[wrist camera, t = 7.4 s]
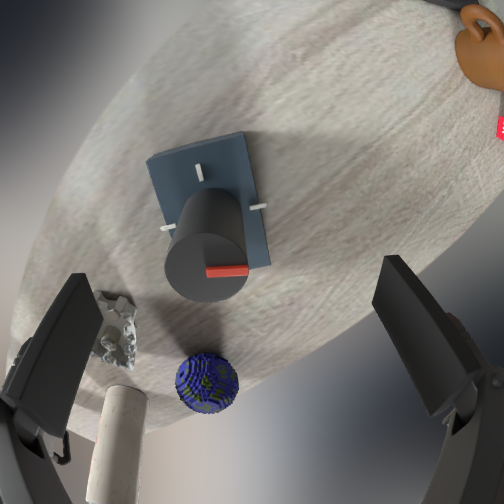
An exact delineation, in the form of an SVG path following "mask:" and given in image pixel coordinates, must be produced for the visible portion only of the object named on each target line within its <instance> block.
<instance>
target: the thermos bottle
mask: <svg viewBox="0 0 504 504" xmlns="http://www.w3.org/2000/svg"><path fill="white" fill-rule="evenodd" d="M148 408H149V399H148V398H147V397H146V396H145V395H144V394H143V393H141V392H140V391H138V390H136V389H133V388H130V387H126V386H120V385H115V386H111V387H109V388H108V390H107V394H106V398H105V402H104V406H103V410H102V414H101V418H100V422H99V427H98V432H97V438H96V443H95V448H94V451H93V456H92V462H91V468H90V474H89V480H88V487H87V494H86V501H87V502H88V503H89V504H138V497H139V485H140V473H141V462H142V453H143V440H144V435H145V429H146V422H147V415H148Z"/></svg>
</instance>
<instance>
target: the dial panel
mask: <svg viewBox="0 0 504 504" xmlns="http://www.w3.org/2000/svg"><path fill="white" fill-rule="evenodd" d="M146 164H147V167H148V170H149V174H150V177H151V180H152V183H153V186H154V189H155V192H156V195H157V198H158V201H159V204H160V207H161V210H162V213H163V216H164V218H165V221H166V224H167V225H166V226H163V227H160V229H161V231H165V230H169V232H170V235H171V238H173V235H174V232H175V229H176V226H177V224H178V221H179V218H180V215H181V213H182V210H183V207H184V205H185V203H186V201H187V200H188V199H189V198H190V197H191V196H192V195H193V194H194V193H196V192H198V191H200V190H203V189H207V188H216V189H221V190H224V191H226V192H228V193H230V194H231V195H232V196H233V197H234V198H235V199H236V200H237V201H238V203H239V205H240V207H241V210H242V217H243V225H244V233H245V241H246V249H247V256H248V264H249V270H251V269H255V268H260V267H265V266H269V265H271V262H270V257H269V252H268V247H267V242H266V237H265V232H264V227H263V222H262V217H261V212H260V208H264V207H267V204H266V203H261V204H259V202H258V197H257V193H256V188H255V183H254V178H253V173H252V169H251V164H250V159H249V155H248V150H247V145H246V141H245V136H244V134H243V132H237V133H232V134H228V135H223V136H219V137H215V138H211V139H207V140H203V141H199V142H195V143H191V144H188V145H184V146H181V147H177V148H174V149H170V150H167V151H163V152H160V153H157V154H154V155H153V156H152V157H151V158H149V159H148V160H147V161H146Z"/></svg>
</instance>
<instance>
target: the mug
mask: <svg viewBox="0 0 504 504" xmlns="http://www.w3.org/2000/svg"><path fill="white" fill-rule="evenodd" d="M460 17H461V21H462V23H463V24H464V26H465V27H466V29H464V30H462V31H461V32H459V34H458V35H457V37H456V42H455V50H456V56H457V59H458V62H459V65H460V67H461V69H462V71H463V73H464V74H465V75H466V77H467V78H468V79H469V80H470V81H471V82H472V83H474V84H475V85H477V86H479V87H483V88H488V89H494V90H499V91H504V25H503V23H502V22H501V20H500V19H499V18H498V17H497V16H496V15H495V14H494V13H493V12H492V11H490V10H489V9H487V8H485V7H483V6H480V5H476V4H470V5H467V6H464V7H463V8H462V10H461V12H460ZM476 20H483V21H485V22H486V23H487V24H489V25H490V27H481V26H480V25H479V24H478V22H477V21H476Z"/></svg>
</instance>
